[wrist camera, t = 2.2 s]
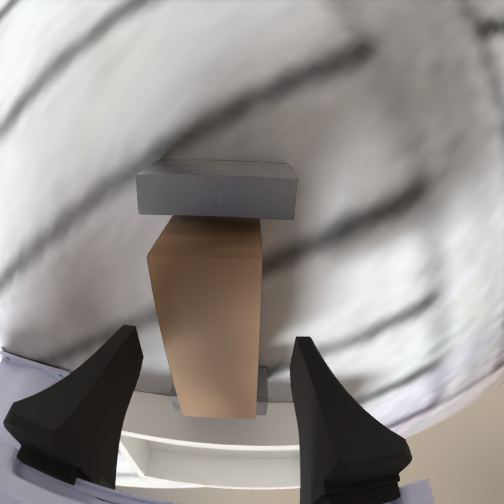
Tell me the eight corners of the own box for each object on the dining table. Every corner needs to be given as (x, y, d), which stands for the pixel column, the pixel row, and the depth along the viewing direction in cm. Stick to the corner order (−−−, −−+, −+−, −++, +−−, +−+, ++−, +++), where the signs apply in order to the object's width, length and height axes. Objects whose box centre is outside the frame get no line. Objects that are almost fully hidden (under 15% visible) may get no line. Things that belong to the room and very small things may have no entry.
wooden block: (194, 353, 19) (183, 415, 15) (177, 208, 14) (146, 256, 10) (254, 355, 19) (255, 419, 15) (259, 208, 15) (262, 258, 10)
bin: (146, 447, 26) (139, 476, 23) (117, 387, 21) (103, 426, 18) (306, 456, 27) (310, 486, 23) (333, 400, 21) (342, 441, 18)
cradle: (180, 376, 20) (173, 409, 17) (158, 160, 13) (136, 174, 11) (264, 381, 20) (265, 415, 17) (288, 163, 13) (297, 179, 11)
